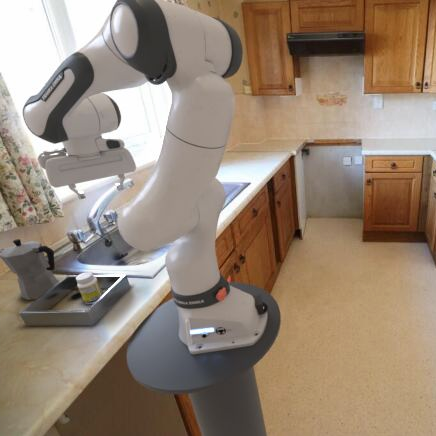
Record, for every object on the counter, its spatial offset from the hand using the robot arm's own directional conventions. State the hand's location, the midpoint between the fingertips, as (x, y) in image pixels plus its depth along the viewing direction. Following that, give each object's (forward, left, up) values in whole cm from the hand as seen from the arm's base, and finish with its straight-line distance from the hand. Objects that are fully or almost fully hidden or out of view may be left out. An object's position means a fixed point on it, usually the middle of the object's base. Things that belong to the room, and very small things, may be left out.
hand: (102, 193), depth 91 cm
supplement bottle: (+6, +10, -29) cm, 31 cm away
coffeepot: (+24, +6, -29) cm, 38 cm away
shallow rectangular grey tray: (+7, +12, -29) cm, 33 cm away
